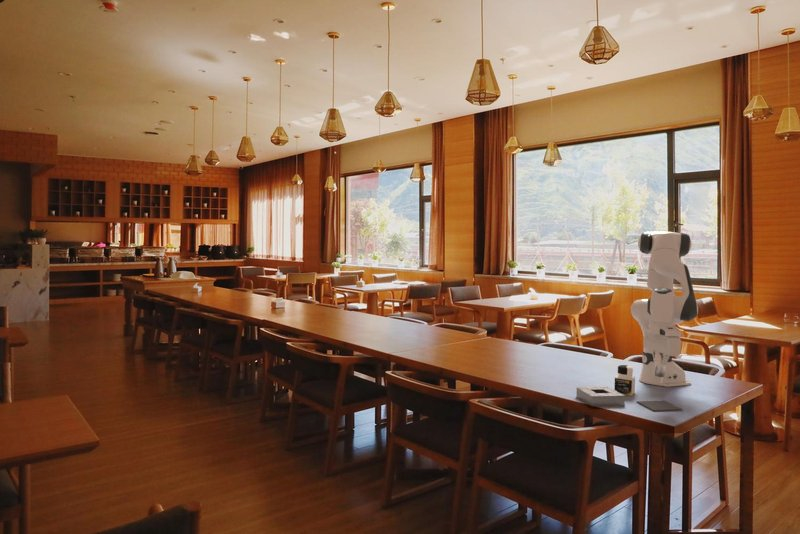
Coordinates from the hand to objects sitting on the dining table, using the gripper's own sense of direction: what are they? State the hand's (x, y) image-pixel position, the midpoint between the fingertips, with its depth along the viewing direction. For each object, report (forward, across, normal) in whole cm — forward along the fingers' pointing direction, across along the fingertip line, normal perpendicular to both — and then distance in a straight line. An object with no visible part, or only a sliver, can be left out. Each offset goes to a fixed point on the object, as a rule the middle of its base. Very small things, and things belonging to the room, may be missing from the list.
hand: (660, 363), depth 222 cm
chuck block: (+18, -10, -20) cm, 28 cm away
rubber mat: (+18, 0, 0) cm, 18 cm away
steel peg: (+5, 0, 0) cm, 5 cm away
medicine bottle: (+18, -21, -3) cm, 28 cm away
